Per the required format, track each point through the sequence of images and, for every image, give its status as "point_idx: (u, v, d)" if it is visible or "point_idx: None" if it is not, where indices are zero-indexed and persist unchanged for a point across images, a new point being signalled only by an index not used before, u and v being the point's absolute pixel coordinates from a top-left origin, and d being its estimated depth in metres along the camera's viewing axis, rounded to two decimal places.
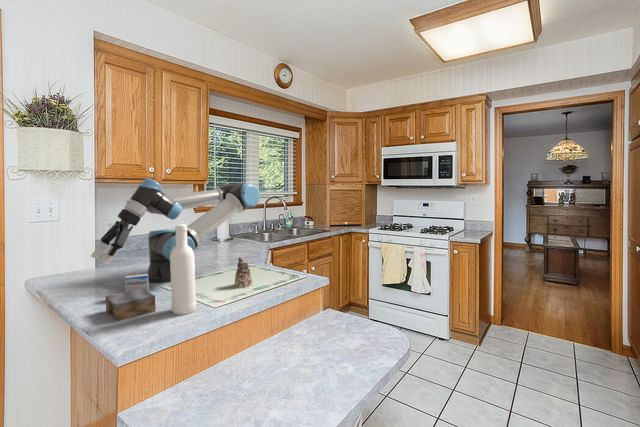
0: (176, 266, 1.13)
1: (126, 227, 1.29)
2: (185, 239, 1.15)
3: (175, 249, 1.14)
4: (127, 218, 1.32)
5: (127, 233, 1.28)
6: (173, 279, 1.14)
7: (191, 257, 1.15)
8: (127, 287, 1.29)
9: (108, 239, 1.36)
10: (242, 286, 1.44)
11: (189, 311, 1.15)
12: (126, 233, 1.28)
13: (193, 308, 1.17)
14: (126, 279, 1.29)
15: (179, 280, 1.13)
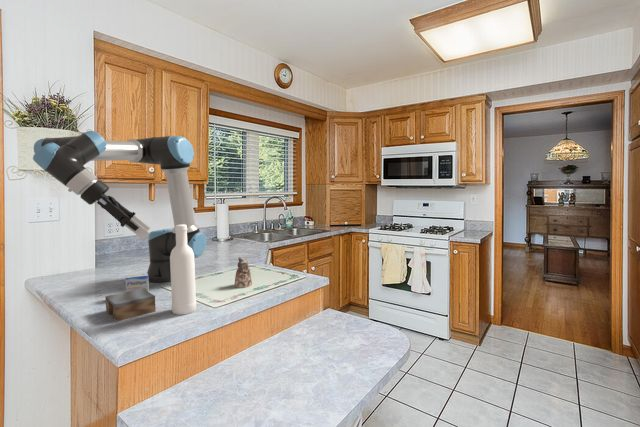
0: (176, 266, 1.13)
1: (102, 205, 0.99)
2: (185, 239, 1.15)
3: (175, 249, 1.14)
4: (92, 198, 1.01)
5: (111, 206, 0.99)
6: (173, 279, 1.14)
7: (191, 257, 1.15)
8: (127, 287, 1.29)
9: (126, 214, 1.13)
10: (242, 286, 1.44)
11: (189, 311, 1.15)
12: (110, 207, 0.99)
13: (193, 308, 1.17)
14: (126, 279, 1.29)
15: (179, 280, 1.13)
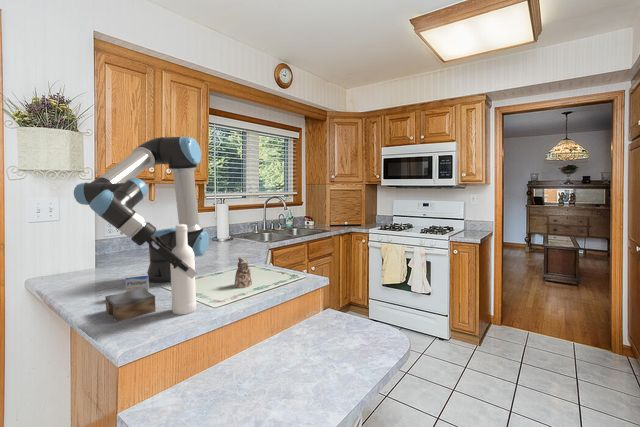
0: None
1: (156, 249, 1.07)
2: (185, 239, 1.15)
3: (175, 249, 1.14)
4: (143, 240, 1.08)
5: (164, 250, 1.08)
6: (173, 279, 1.14)
7: (191, 257, 1.15)
8: (127, 287, 1.29)
9: None
10: (242, 286, 1.44)
11: (189, 311, 1.15)
12: (164, 251, 1.08)
13: (193, 308, 1.17)
14: (126, 279, 1.29)
15: (179, 280, 1.13)
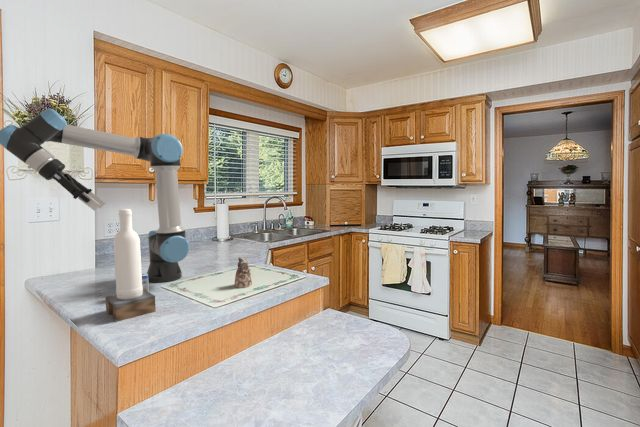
0: (119, 250, 1.12)
1: (57, 179, 1.14)
2: (129, 223, 1.14)
3: (118, 233, 1.13)
4: (49, 173, 1.16)
5: (64, 180, 1.14)
6: (116, 264, 1.13)
7: (135, 242, 1.14)
8: None
9: (83, 190, 1.28)
10: (242, 286, 1.44)
11: (133, 296, 1.14)
12: (64, 181, 1.14)
13: (138, 294, 1.16)
14: None
15: (122, 265, 1.12)
